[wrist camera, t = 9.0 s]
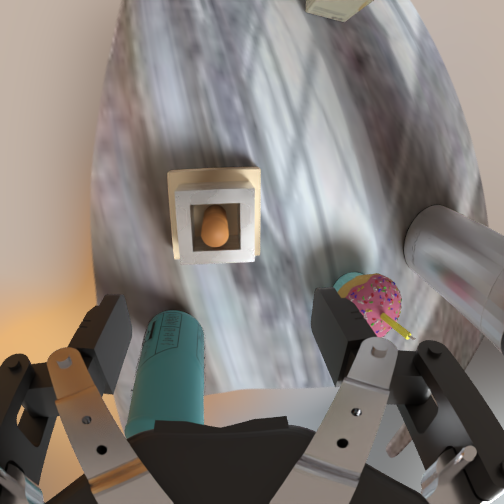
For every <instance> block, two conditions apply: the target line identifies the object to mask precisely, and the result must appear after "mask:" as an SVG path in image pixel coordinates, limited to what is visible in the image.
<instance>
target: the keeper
mask: <svg viewBox="0 0 504 504" xmlns="http://www.w3.org/2000/svg"><path fill="white" fill-rule="evenodd" d="M260 173H261V169H260V168H258V167H221V168H199V169H181V170H170V171H169V172H168V173H167V181H168V196H169V209H170V221H171V231H172V242H173V251H174V259H180V254H179V244H178V233H177V221H176V207H175V192H174V191H175V190H176V189H177V187H178V186H179V184H182V183H201V182H227V181H250V182H251V183H252V185H253V186H254V188H255V255H260ZM194 220H195V236H196V237H202V240H203V241H204V243H205V244H207V245H208V246H211V247H219V246H222V245H223V244H225V243H226V241H227V240H228V237H229V235H238V226H237V203H223V204H200V205H194Z"/></svg>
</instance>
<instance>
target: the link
mask: <svg viewBox="0 0 504 504" xmlns="http://www.w3.org/2000/svg"><path fill="white" fill-rule="evenodd" d="M174 192H175V207H176V221H177V233H178V244H179V254H180V264H181V265H191V264H215V263H237V262H254V258H255V188H254V186H253V185H252V183H251V182H250V181H227V182H201V183H182V184H179V186H178V187H177V189H176V190H175V191H174ZM223 203H237V226H238V235H229V237H228V240H227V241H226V243H225V244H223V245H222V246H219V247H211V246H208V245H207V244H205V243H204V241H203V240H202V237H196V236H195V220H194V205H200V204H223Z"/></svg>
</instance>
